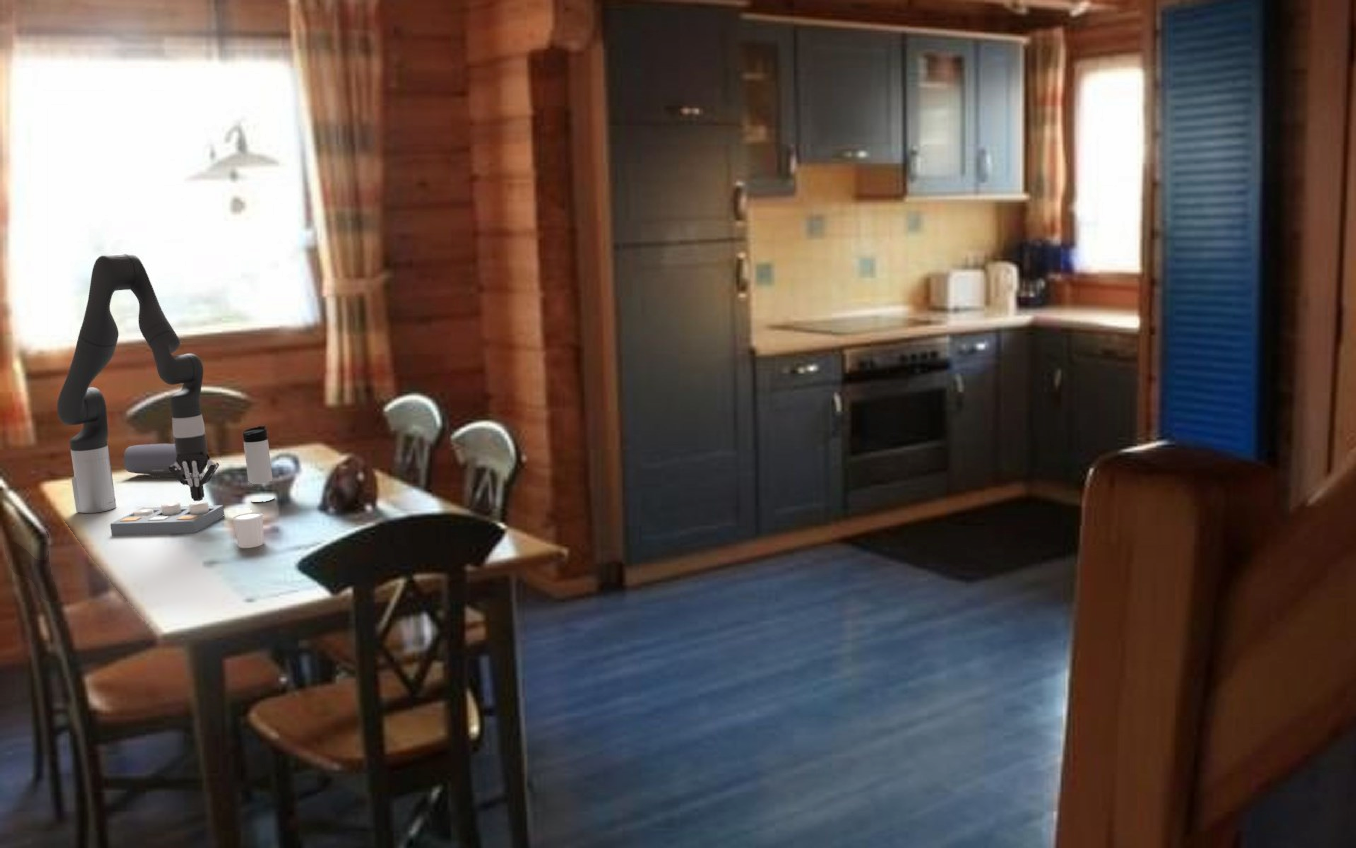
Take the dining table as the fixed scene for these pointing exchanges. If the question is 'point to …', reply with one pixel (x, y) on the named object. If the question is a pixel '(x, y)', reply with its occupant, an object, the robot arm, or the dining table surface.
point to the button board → (166, 522)
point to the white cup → (249, 529)
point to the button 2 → (199, 508)
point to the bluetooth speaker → (150, 459)
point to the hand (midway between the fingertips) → (198, 500)
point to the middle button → (171, 509)
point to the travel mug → (257, 455)
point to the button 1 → (143, 512)
